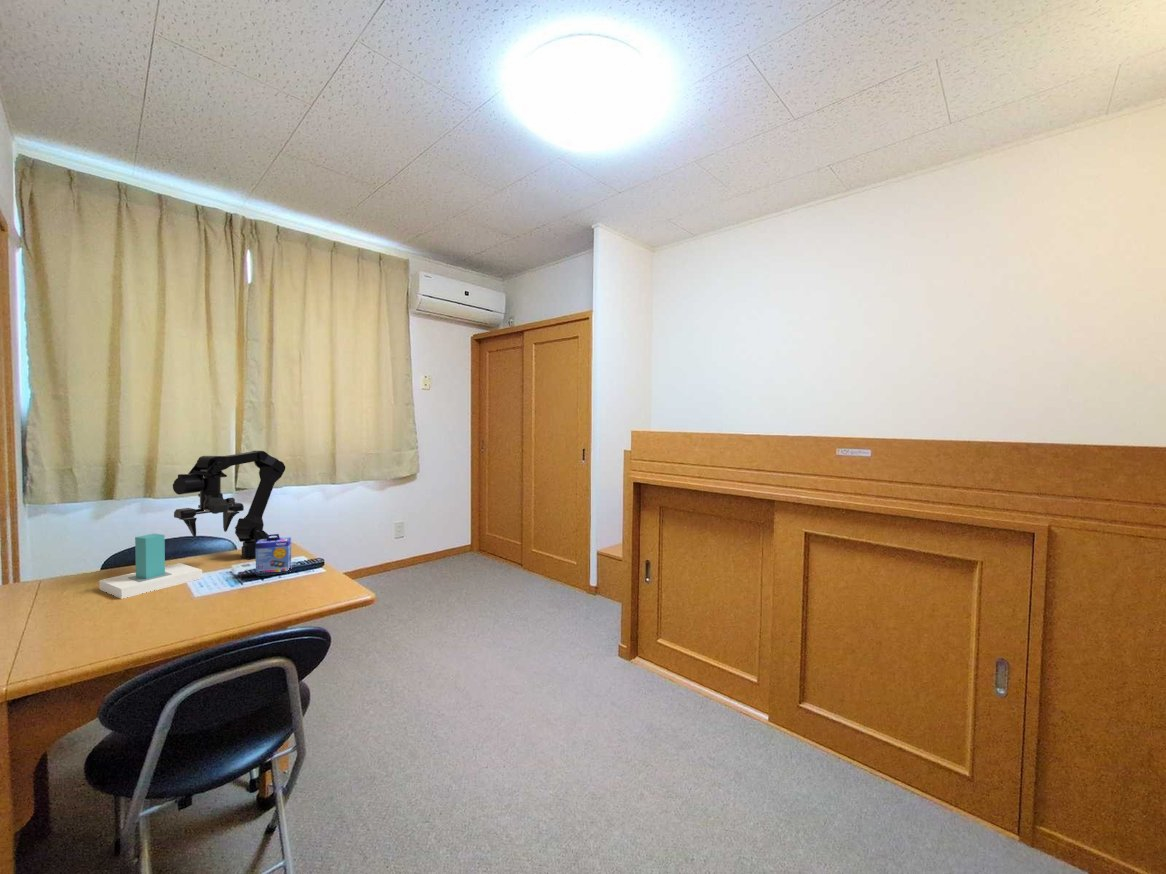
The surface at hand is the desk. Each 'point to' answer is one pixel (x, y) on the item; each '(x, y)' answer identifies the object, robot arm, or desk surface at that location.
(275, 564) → the ink cartridge box
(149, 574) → the teal block
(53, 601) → the desk surface
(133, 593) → the base plate
